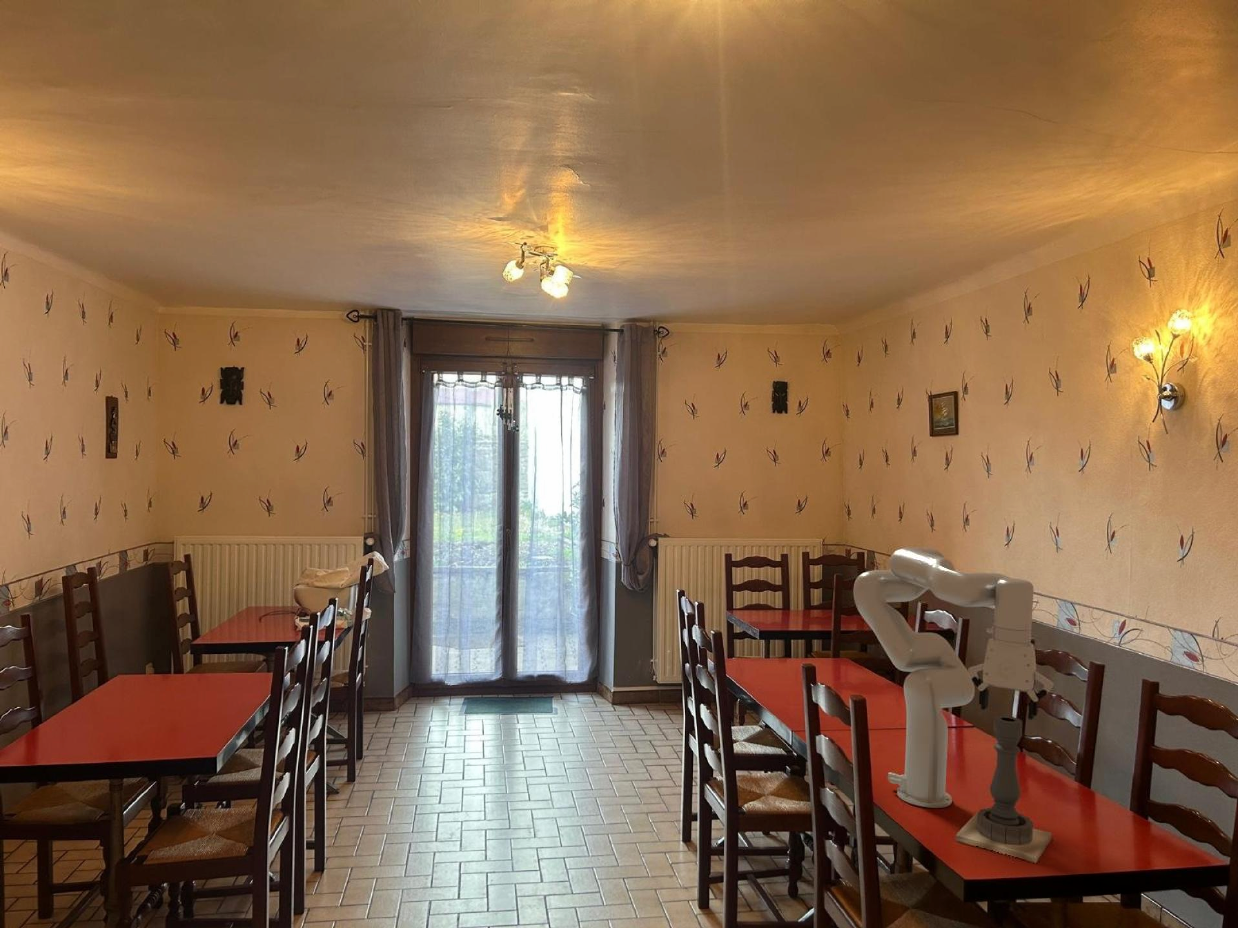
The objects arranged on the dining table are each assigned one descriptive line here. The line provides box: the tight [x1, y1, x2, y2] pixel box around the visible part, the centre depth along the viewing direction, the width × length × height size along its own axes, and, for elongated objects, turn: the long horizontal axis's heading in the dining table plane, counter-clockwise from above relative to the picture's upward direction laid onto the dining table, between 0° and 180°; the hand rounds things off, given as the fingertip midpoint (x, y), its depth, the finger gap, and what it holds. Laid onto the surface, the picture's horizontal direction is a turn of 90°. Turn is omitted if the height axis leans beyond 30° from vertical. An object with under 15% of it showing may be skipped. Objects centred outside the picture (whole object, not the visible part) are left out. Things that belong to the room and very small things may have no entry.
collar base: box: [955, 807, 1053, 864], centre depth 189 cm, size 16×16×5 cm
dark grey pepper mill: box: [989, 715, 1023, 826], centre depth 189 cm, size 6×6×25 cm
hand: (1007, 713), depth 189 cm, fingers open, 9 cm apart
